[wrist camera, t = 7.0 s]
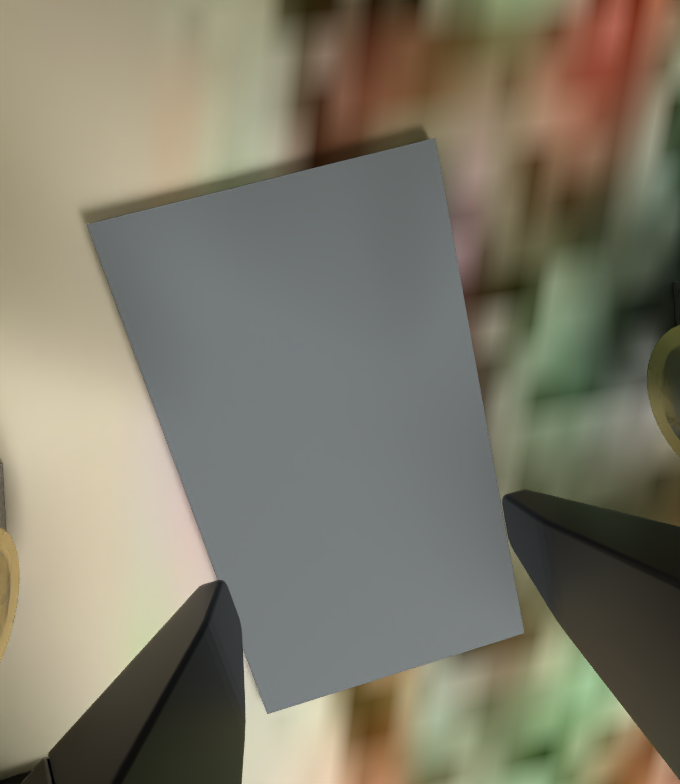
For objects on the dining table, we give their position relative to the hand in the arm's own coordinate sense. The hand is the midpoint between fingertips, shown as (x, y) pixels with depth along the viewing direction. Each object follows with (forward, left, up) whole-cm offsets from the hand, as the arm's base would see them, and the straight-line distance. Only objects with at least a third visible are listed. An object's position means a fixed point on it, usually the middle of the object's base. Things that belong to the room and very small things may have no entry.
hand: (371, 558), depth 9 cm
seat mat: (0, 0, -5) cm, 5 cm away
